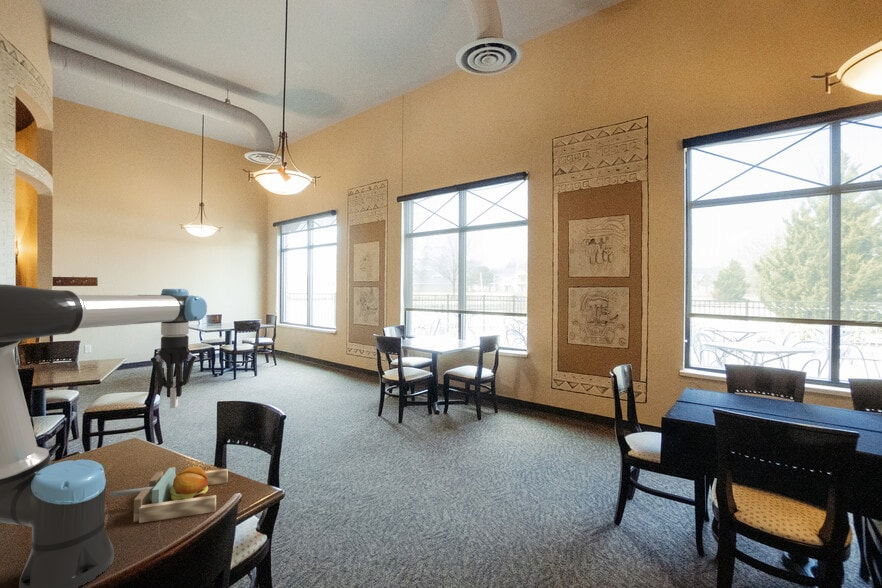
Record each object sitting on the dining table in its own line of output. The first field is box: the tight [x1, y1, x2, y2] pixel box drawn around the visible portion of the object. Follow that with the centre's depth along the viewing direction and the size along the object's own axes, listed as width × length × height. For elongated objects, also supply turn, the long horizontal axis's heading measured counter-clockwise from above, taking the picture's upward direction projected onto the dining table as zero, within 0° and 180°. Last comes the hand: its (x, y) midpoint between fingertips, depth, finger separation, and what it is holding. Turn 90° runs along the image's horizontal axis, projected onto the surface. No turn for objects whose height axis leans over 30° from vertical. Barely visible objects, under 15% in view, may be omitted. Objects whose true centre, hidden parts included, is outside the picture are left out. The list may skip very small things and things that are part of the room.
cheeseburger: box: [169, 465, 209, 501], centre depth 118 cm, size 10×11×10 cm
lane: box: [133, 468, 229, 524], centre depth 117 cm, size 20×19×6 cm
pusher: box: [109, 466, 176, 504], centre depth 113 cm, size 14×14×7 cm
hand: (174, 406), depth 128 cm, fingers closed
